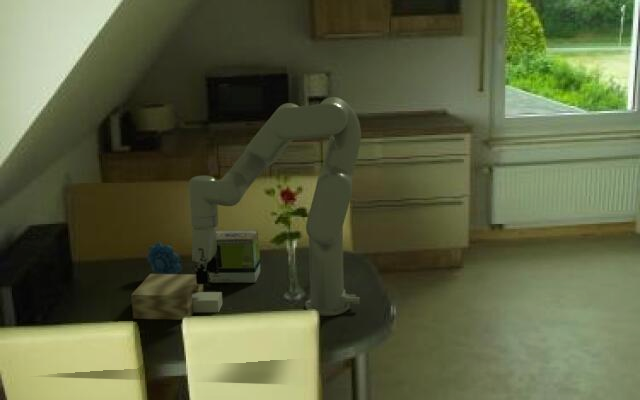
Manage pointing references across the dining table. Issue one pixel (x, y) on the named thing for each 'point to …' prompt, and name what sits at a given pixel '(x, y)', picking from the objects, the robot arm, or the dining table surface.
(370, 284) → the dining table surface
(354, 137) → the robot arm
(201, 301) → the cover board
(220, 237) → the tea box
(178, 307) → the oak box
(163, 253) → the grapes
